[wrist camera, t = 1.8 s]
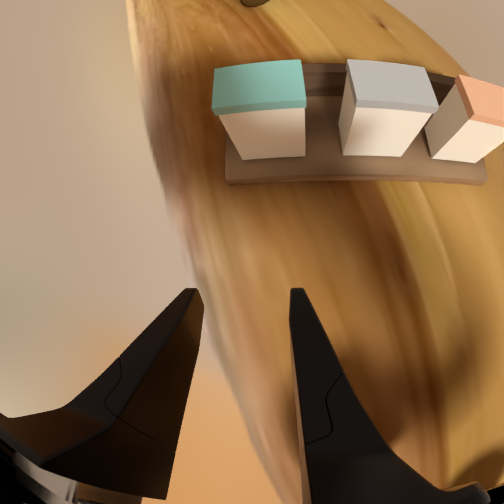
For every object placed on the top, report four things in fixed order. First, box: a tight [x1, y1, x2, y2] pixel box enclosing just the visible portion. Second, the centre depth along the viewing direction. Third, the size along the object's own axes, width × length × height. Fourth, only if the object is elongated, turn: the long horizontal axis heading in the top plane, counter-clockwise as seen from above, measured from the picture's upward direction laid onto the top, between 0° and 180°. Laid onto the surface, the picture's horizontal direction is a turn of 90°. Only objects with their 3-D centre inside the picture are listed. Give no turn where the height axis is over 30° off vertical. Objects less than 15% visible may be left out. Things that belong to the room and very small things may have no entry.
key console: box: [225, 64, 488, 186], centre depth 20 cm, size 9×24×5 cm, turn 91°
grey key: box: [338, 59, 439, 157], centre depth 17 cm, size 3×5×8 cm, turn 90°
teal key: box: [212, 60, 306, 160], centre depth 18 cm, size 3×5×8 cm, turn 91°
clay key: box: [424, 74, 504, 163], centre depth 15 cm, size 3×5×8 cm, turn 90°
